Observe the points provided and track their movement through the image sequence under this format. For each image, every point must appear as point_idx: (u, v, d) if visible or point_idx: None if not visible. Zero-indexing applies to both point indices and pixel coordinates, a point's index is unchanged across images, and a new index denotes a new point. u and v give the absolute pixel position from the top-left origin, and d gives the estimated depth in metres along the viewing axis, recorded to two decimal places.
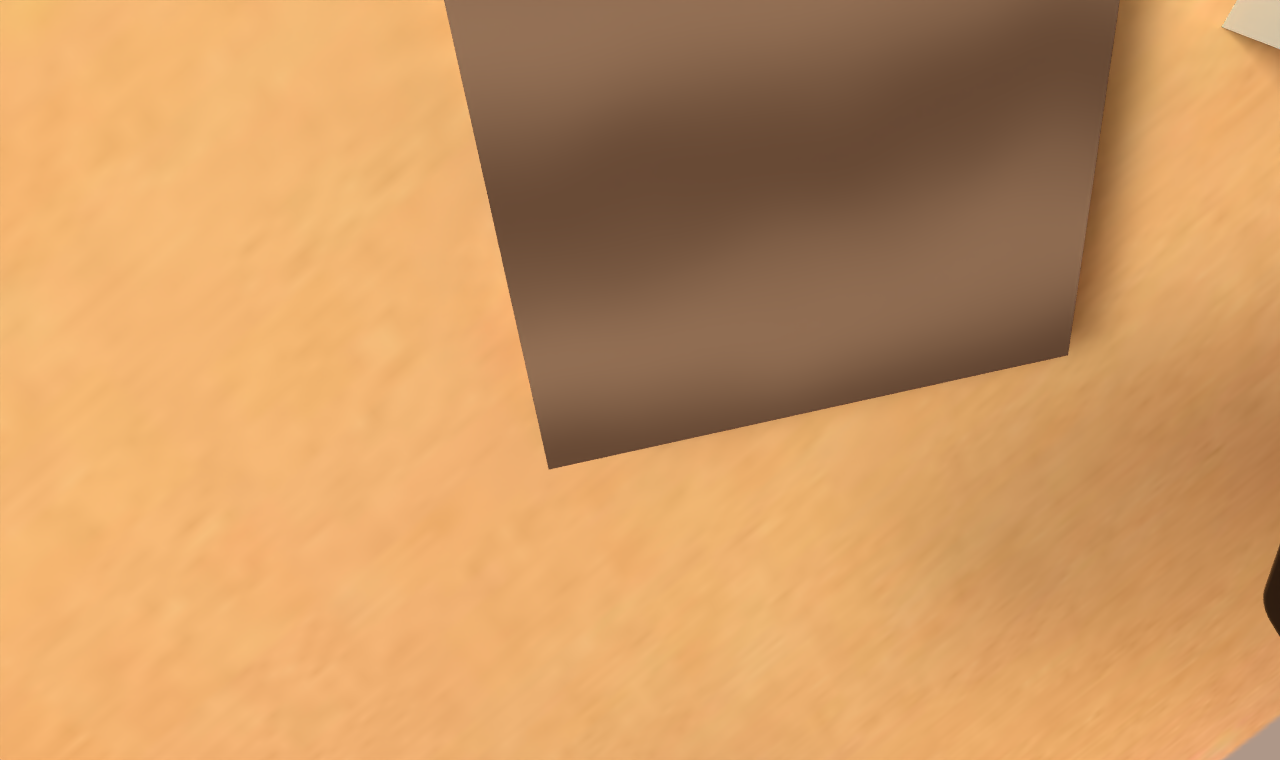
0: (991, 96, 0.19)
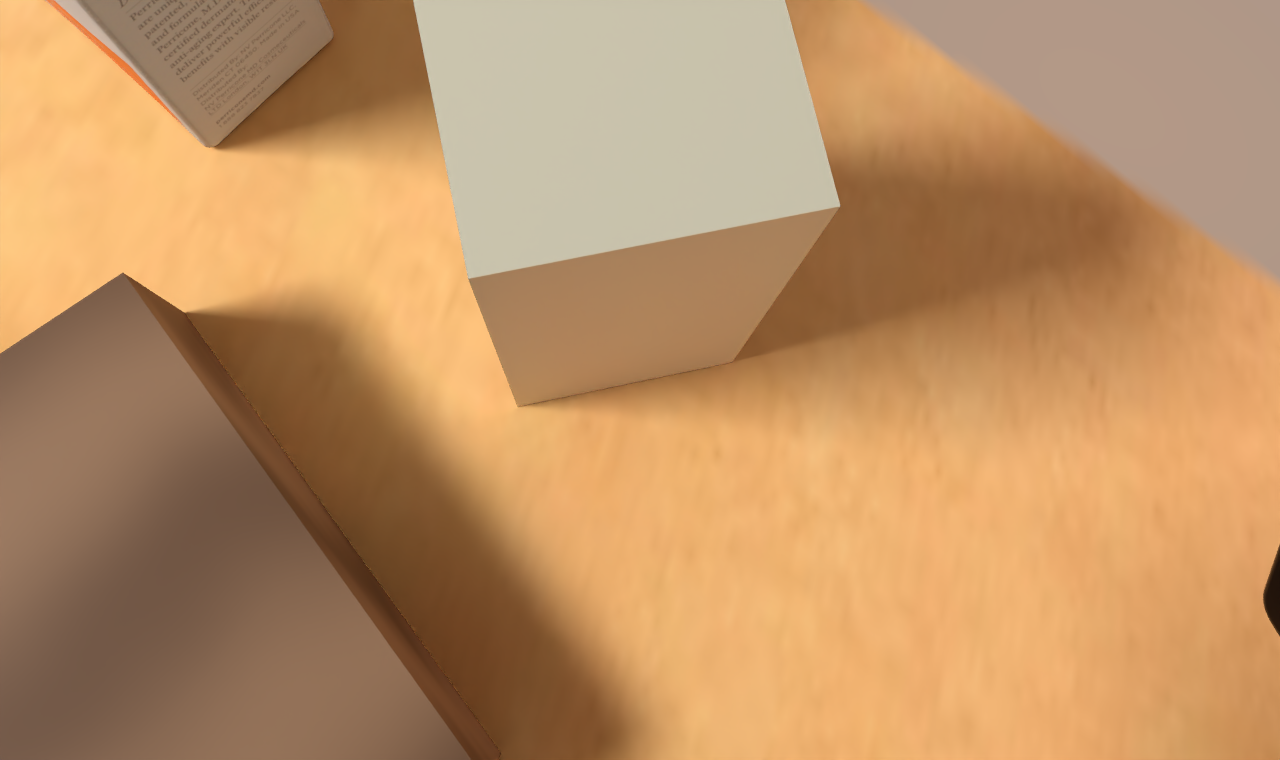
0: (176, 577, 0.19)
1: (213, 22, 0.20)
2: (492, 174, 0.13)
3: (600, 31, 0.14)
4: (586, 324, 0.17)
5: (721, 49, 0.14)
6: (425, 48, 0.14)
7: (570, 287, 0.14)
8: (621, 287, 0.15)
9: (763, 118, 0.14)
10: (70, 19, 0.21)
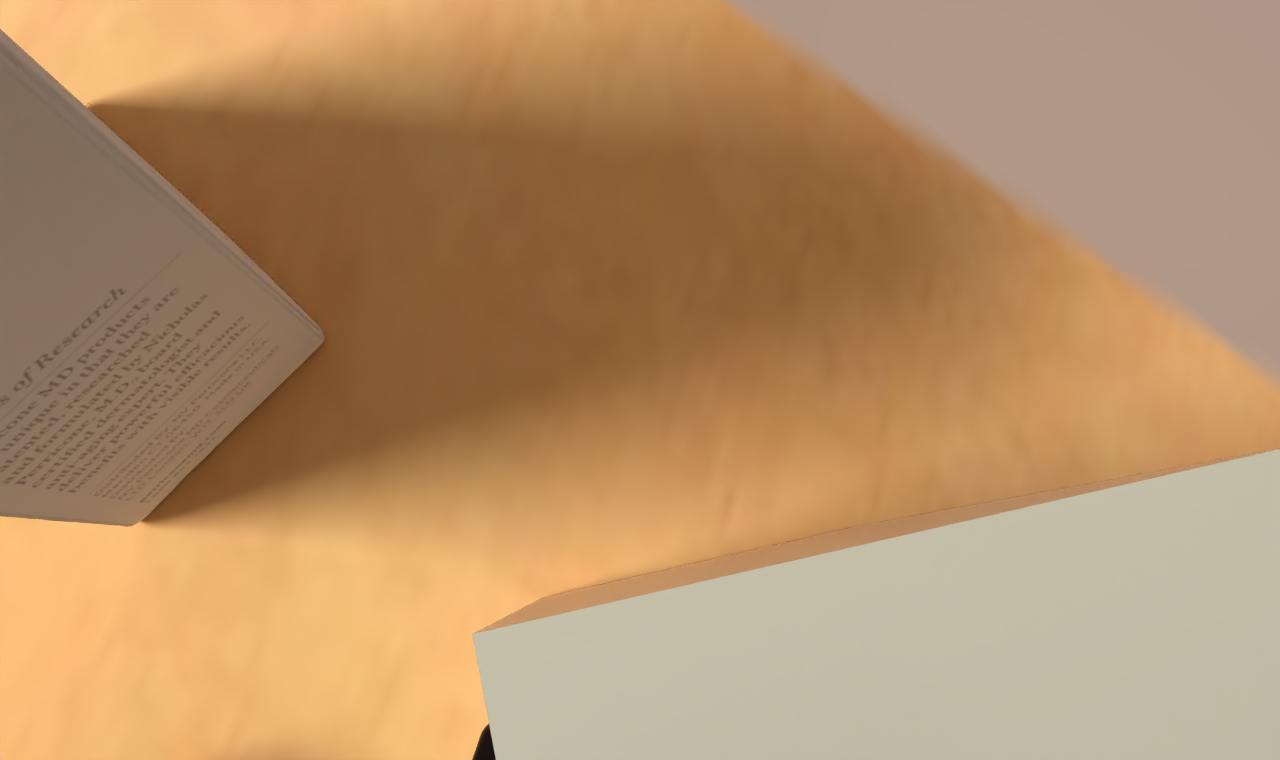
0: None
1: (117, 412, 0.12)
2: None
3: None
4: None
5: None
6: None
7: None
8: None
9: None
10: None
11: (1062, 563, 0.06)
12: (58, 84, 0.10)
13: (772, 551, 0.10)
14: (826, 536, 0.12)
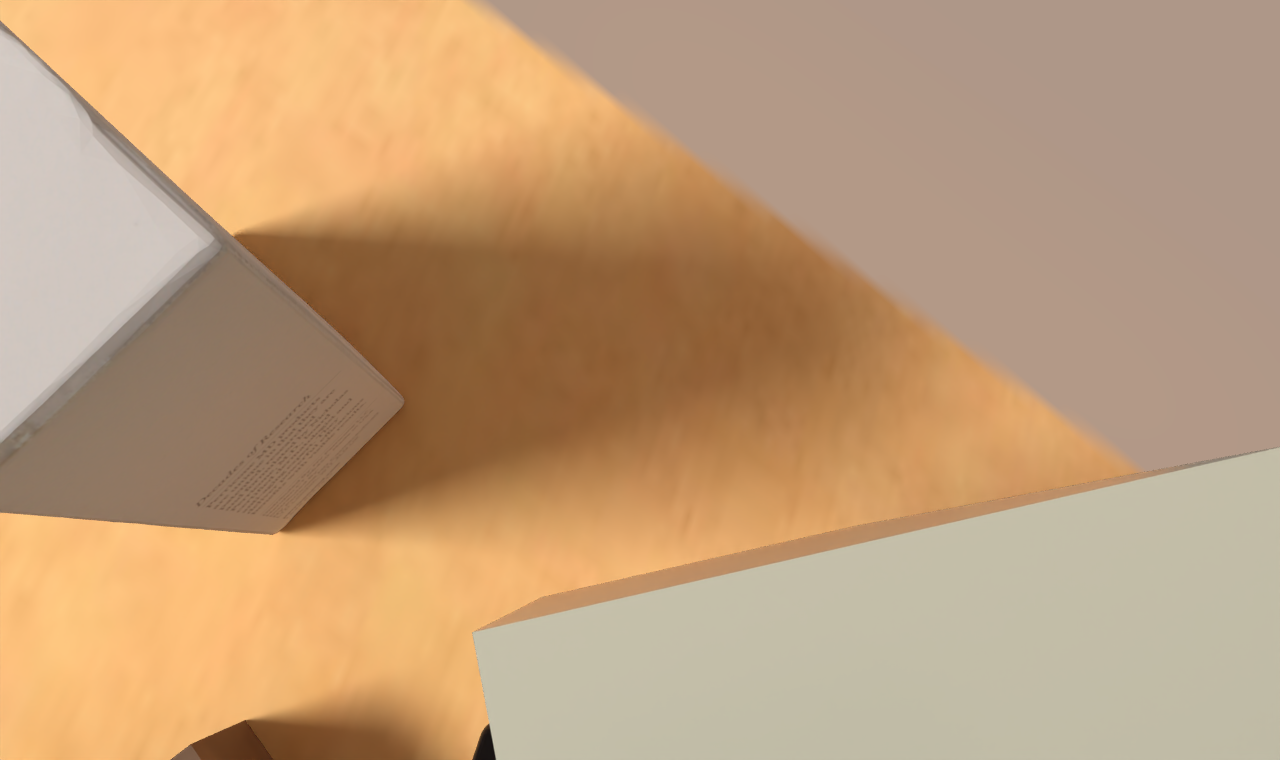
0: None
1: (288, 464, 0.19)
2: None
3: None
4: None
5: None
6: None
7: None
8: None
9: None
10: None
11: (1062, 560, 0.06)
12: None
13: (772, 550, 0.10)
14: (826, 535, 0.12)
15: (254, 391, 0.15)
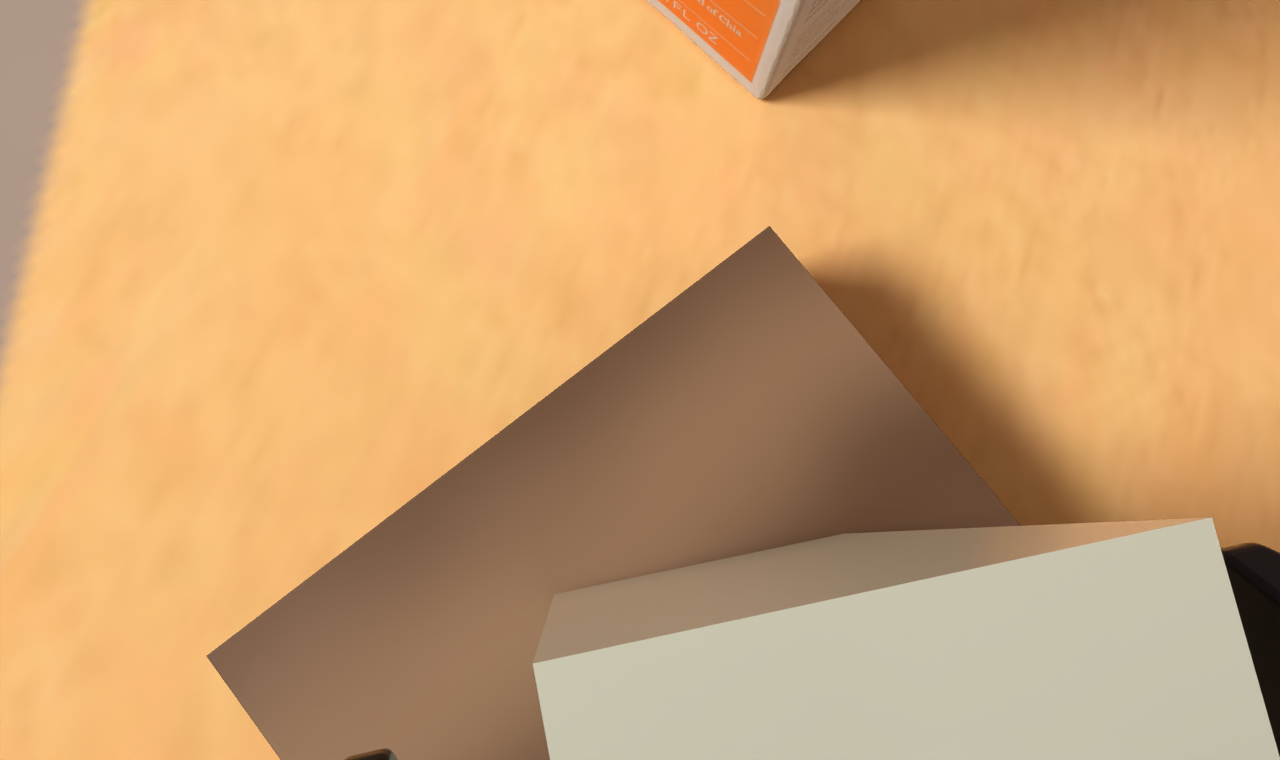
0: None
1: None
2: None
3: None
4: None
5: None
6: None
7: None
8: None
9: None
10: None
11: (1018, 612, 0.07)
12: None
13: (771, 569, 0.12)
14: (818, 550, 0.13)
15: None
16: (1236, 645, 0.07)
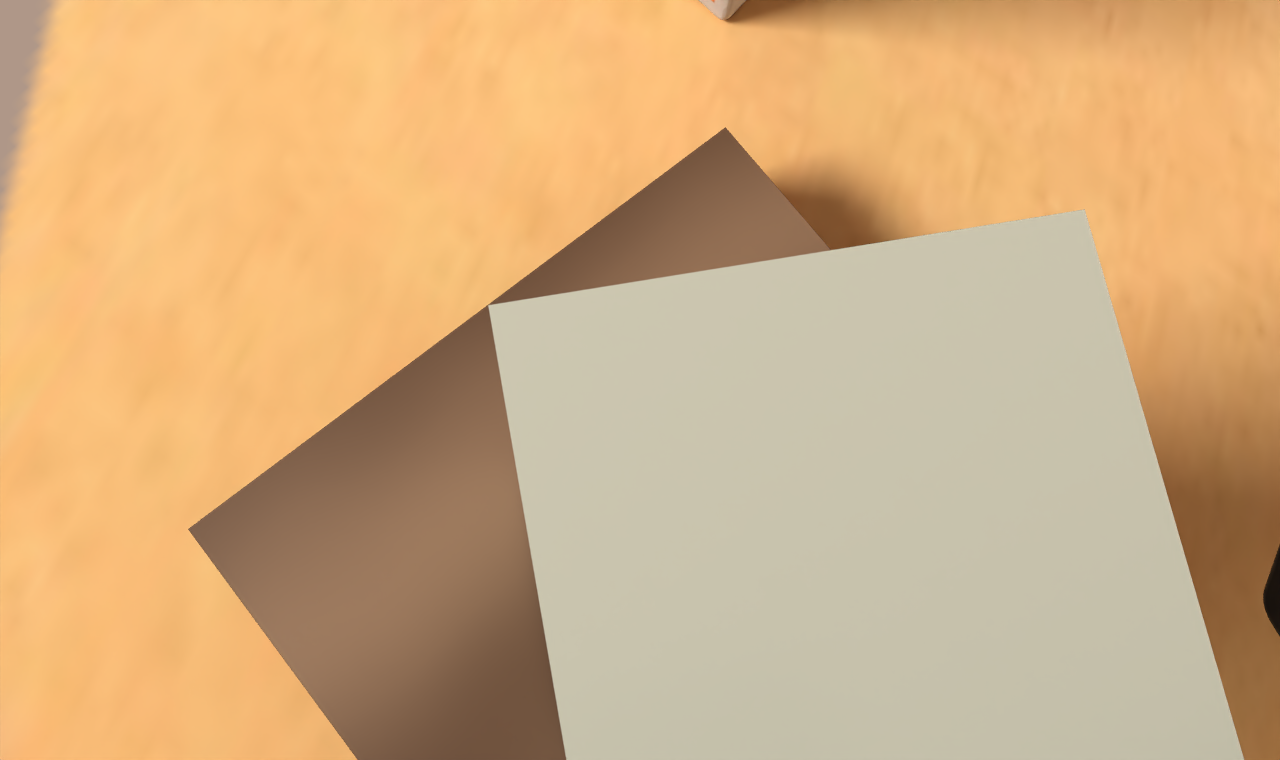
0: None
1: None
2: None
3: (839, 493, 0.08)
4: None
5: (1047, 529, 0.08)
6: (530, 524, 0.08)
7: None
8: None
9: (1125, 661, 0.08)
10: None
11: (914, 279, 0.08)
12: None
13: None
14: None
15: None
16: (1104, 313, 0.08)
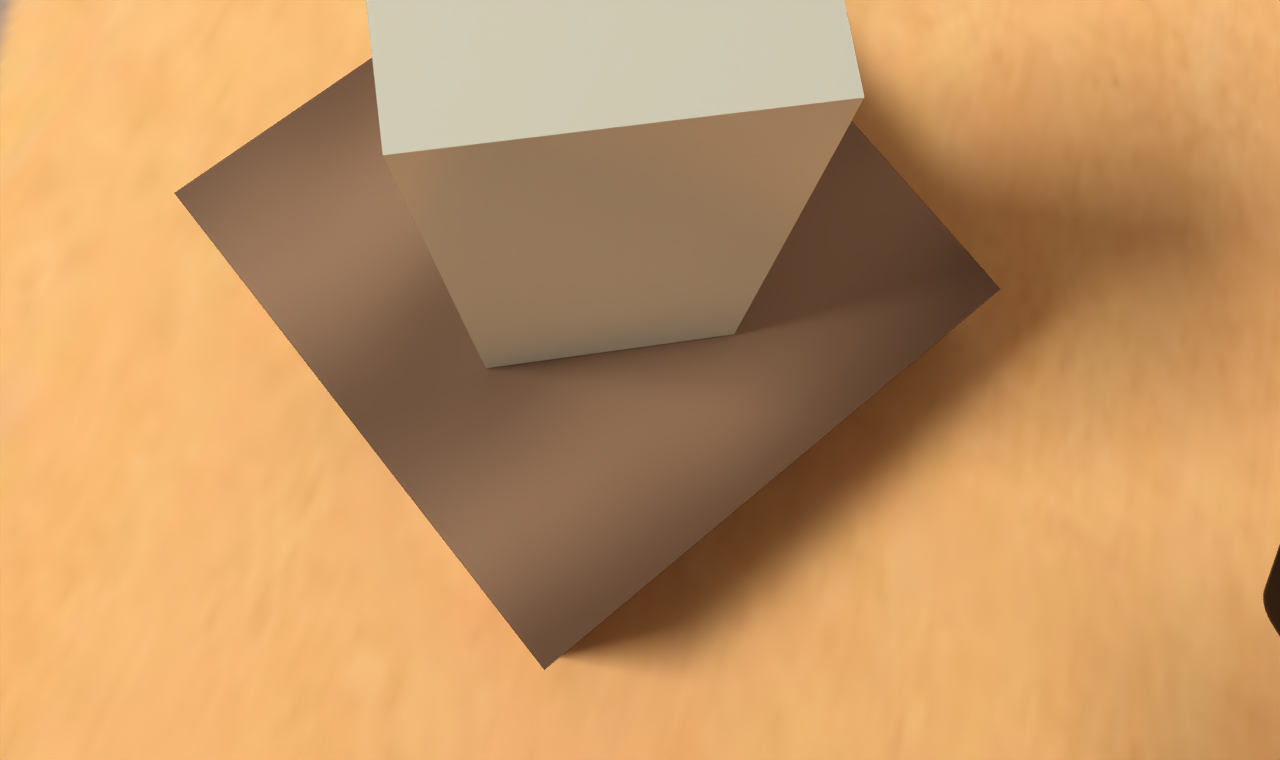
0: None
1: None
2: (425, 29, 0.11)
3: None
4: (550, 252, 0.14)
5: None
6: None
7: (522, 188, 0.12)
8: (588, 197, 0.12)
9: None
10: None
11: None
12: None
13: None
14: None
15: None
16: None
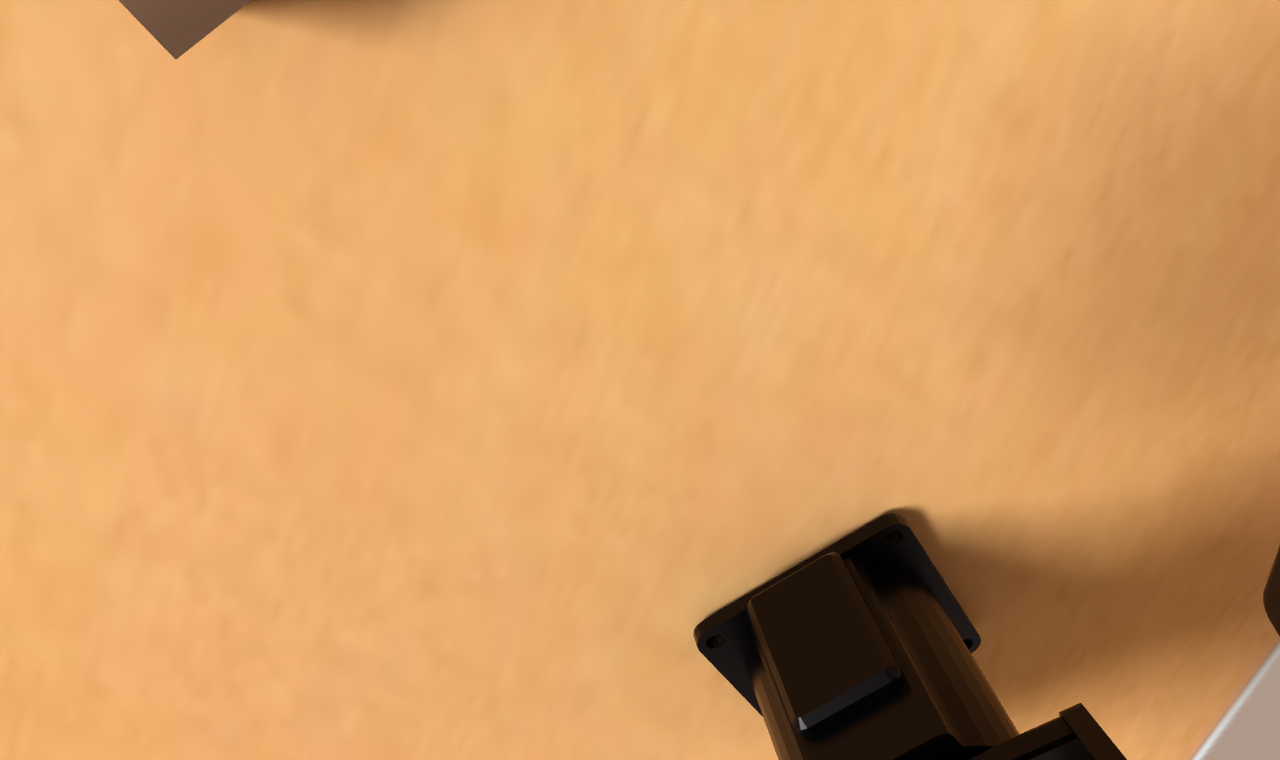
0: None
1: None
2: None
3: None
4: None
5: None
6: None
7: None
8: None
9: None
10: None
11: None
12: None
13: None
14: None
15: None
16: None
